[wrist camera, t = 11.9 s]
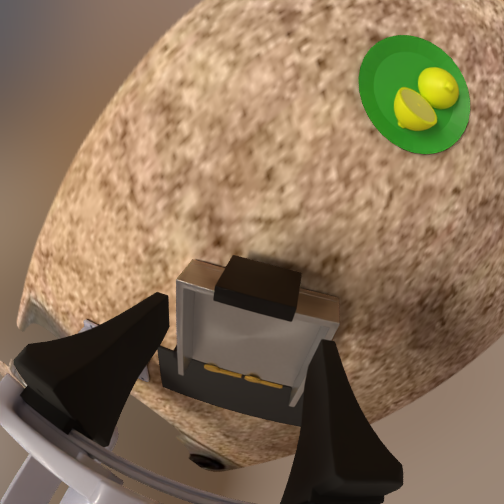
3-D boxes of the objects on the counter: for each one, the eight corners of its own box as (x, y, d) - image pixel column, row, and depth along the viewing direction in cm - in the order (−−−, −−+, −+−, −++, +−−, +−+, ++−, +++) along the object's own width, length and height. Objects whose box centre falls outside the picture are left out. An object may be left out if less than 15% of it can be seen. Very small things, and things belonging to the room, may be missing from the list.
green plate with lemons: (435, 175, 15) (452, 186, 13) (335, 109, 15) (339, 107, 13) (480, 87, 11) (501, 86, 9) (385, 16, 11) (395, 2, 9)
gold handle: (309, 387, 27) (308, 395, 26) (177, 350, 29) (173, 357, 28) (313, 381, 27) (312, 390, 26) (177, 343, 28) (173, 350, 27)
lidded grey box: (297, 383, 27) (291, 424, 22) (189, 353, 28) (169, 389, 24) (347, 275, 20) (353, 321, 15) (194, 235, 21) (161, 270, 17)
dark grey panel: (163, 385, 34) (162, 386, 34) (158, 344, 29) (156, 346, 29) (305, 425, 32) (305, 427, 31) (329, 393, 27) (329, 395, 27)
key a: (204, 366, 29) (204, 369, 28) (204, 363, 27) (203, 365, 27) (241, 376, 28) (240, 379, 28) (242, 373, 27) (241, 375, 27)
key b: (243, 376, 28) (243, 379, 28) (246, 374, 26) (245, 377, 26) (279, 386, 28) (278, 389, 28) (284, 384, 27) (283, 387, 26)
